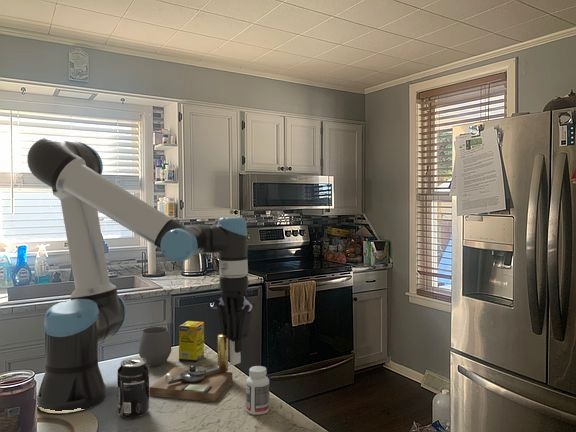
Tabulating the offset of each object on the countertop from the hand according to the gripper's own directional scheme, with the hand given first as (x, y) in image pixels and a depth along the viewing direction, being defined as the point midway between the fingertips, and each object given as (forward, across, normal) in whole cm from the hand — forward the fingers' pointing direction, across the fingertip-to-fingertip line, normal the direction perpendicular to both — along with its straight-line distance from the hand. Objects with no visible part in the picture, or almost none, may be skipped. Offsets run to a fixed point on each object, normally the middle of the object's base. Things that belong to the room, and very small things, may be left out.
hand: (235, 363), depth 122 cm
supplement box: (+5, -24, +4) cm, 25 cm away
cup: (+5, -29, -5) cm, 30 cm away
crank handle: (+3, -6, -8) cm, 10 cm away
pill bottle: (+6, +15, -8) cm, 18 cm away
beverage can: (+5, -5, -27) cm, 28 cm away
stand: (+5, -7, -9) cm, 12 cm away
